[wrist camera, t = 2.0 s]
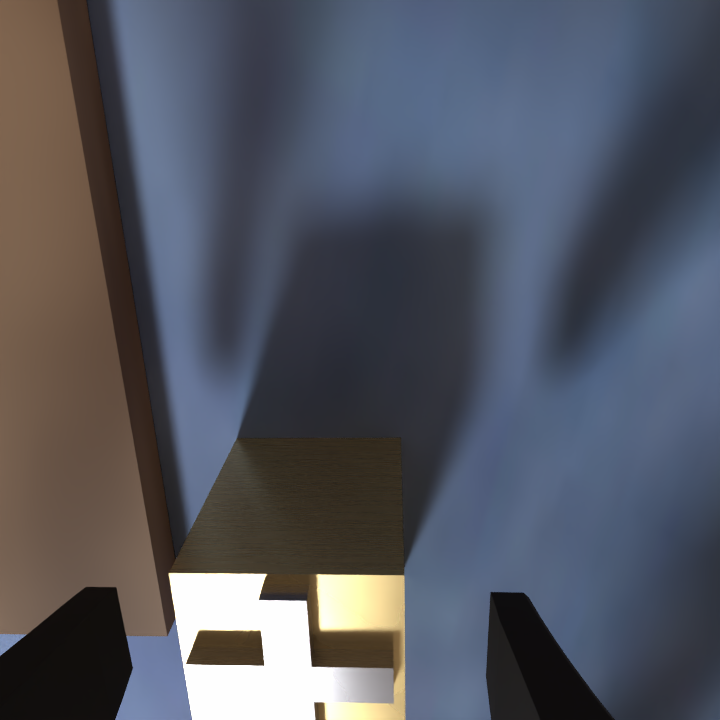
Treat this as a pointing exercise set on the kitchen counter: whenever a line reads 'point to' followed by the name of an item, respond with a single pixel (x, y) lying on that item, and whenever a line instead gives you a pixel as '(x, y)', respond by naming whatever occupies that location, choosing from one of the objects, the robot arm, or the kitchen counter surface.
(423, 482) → the kitchen counter surface
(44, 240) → the coupling base
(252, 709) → the gold square block
